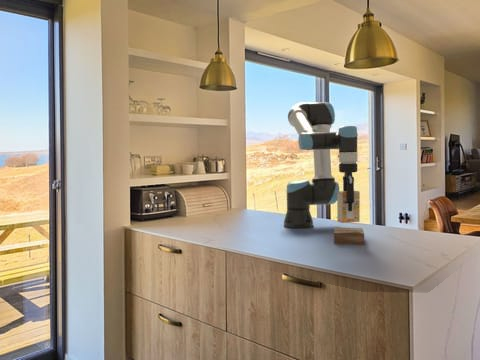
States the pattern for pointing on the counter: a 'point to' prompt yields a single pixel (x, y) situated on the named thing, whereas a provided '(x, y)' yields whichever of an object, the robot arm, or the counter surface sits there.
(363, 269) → the counter surface
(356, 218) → the supplement box
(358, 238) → the block
